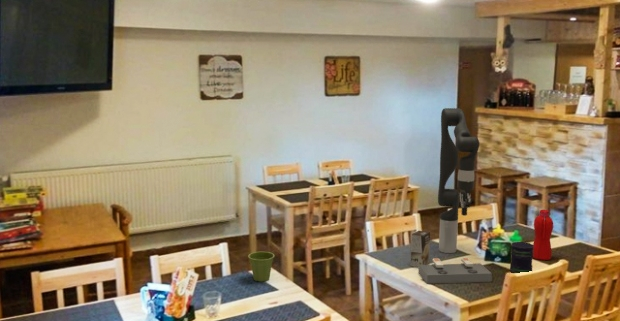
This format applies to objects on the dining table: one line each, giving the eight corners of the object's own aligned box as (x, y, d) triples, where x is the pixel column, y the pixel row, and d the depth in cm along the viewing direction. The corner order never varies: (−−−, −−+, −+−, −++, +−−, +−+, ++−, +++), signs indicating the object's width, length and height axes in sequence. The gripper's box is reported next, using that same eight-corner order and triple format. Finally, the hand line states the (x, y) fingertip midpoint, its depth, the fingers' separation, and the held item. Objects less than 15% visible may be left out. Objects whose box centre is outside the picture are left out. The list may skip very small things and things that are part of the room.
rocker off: (432, 260, 287) (432, 258, 286) (438, 260, 287) (438, 258, 286) (436, 267, 280) (436, 265, 279) (443, 267, 280) (443, 264, 280)
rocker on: (461, 260, 288) (461, 257, 288) (467, 260, 288) (467, 257, 288) (466, 266, 281) (466, 263, 281) (472, 266, 281) (472, 263, 281)
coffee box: (422, 268, 293) (423, 236, 291) (410, 266, 297) (411, 234, 294) (429, 263, 301) (430, 231, 299) (416, 261, 304) (418, 230, 302)
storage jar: (523, 280, 278) (525, 249, 275) (505, 274, 286) (507, 244, 283) (536, 276, 284) (538, 245, 281) (518, 270, 291) (520, 240, 289)
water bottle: (532, 260, 306) (535, 212, 303) (531, 254, 317) (534, 207, 313) (551, 262, 304) (555, 213, 300) (550, 255, 314) (553, 208, 310)
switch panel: (418, 273, 287) (418, 264, 286) (479, 271, 290) (480, 262, 289) (427, 283, 273) (427, 274, 272) (491, 281, 276) (492, 272, 275)
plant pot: (243, 279, 277) (242, 255, 276) (263, 273, 286) (262, 249, 284) (259, 285, 269) (259, 261, 267) (279, 279, 277) (279, 255, 275)
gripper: (453, 176, 291) (451, 211, 294) (463, 182, 278) (461, 218, 281) (468, 176, 292) (466, 211, 295) (478, 181, 279) (476, 218, 282)
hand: (464, 215), depth 288 cm, fingers closed
